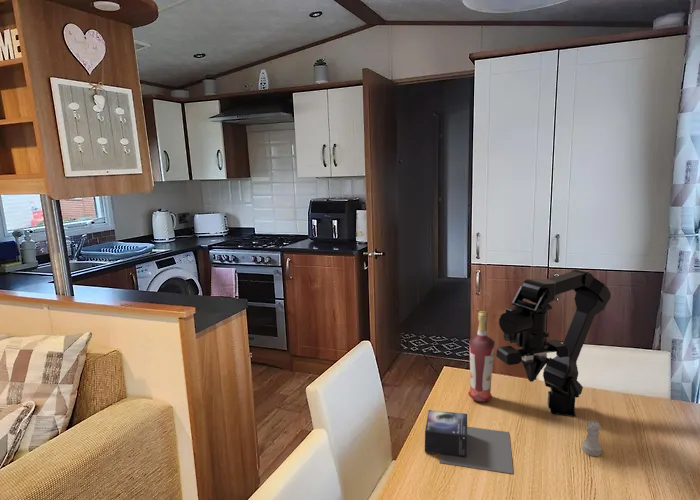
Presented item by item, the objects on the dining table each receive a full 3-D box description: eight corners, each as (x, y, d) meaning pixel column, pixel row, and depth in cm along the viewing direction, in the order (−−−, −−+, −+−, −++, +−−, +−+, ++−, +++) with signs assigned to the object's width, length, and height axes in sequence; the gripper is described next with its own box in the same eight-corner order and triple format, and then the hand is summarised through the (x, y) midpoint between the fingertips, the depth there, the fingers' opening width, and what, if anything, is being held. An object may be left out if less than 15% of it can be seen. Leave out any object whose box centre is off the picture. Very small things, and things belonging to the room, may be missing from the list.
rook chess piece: (599, 447, 116) (602, 419, 114) (603, 458, 112) (605, 429, 110) (580, 444, 118) (582, 416, 116) (582, 455, 113) (585, 426, 112)
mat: (508, 432, 123) (508, 432, 123) (513, 474, 107) (513, 473, 107) (444, 424, 128) (444, 423, 128) (439, 463, 112) (439, 462, 112)
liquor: (490, 407, 136) (493, 317, 130) (465, 402, 139) (468, 314, 134) (494, 395, 143) (497, 310, 137) (470, 390, 146) (472, 307, 140)
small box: (467, 434, 112) (424, 430, 114) (467, 458, 113) (424, 453, 115) (467, 411, 122) (427, 408, 124) (467, 434, 123) (427, 430, 125)
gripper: (544, 313, 131) (541, 363, 134) (486, 320, 127) (484, 372, 130) (572, 326, 121) (568, 381, 124) (509, 335, 116) (507, 391, 119)
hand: (530, 380), depth 124 cm, fingers closed
